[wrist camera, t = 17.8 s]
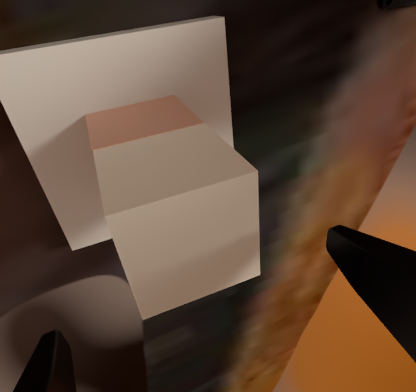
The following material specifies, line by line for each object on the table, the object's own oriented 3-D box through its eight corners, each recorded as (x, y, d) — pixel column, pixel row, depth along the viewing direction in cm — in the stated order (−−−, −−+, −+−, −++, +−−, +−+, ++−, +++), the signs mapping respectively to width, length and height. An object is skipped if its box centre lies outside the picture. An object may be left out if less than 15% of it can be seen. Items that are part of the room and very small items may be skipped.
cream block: (204, 122, 14) (258, 170, 11) (215, 210, 17) (260, 274, 13) (92, 150, 13) (104, 216, 9) (123, 240, 16) (142, 320, 12)
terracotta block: (173, 95, 18) (204, 122, 14) (186, 170, 21) (214, 210, 17) (85, 114, 17) (91, 150, 13) (110, 191, 20) (122, 239, 16)
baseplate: (214, 15, 18) (224, 16, 17) (229, 189, 25) (237, 198, 24) (-14, 53, 16) (-20, 58, 14) (72, 237, 22) (72, 250, 21)
